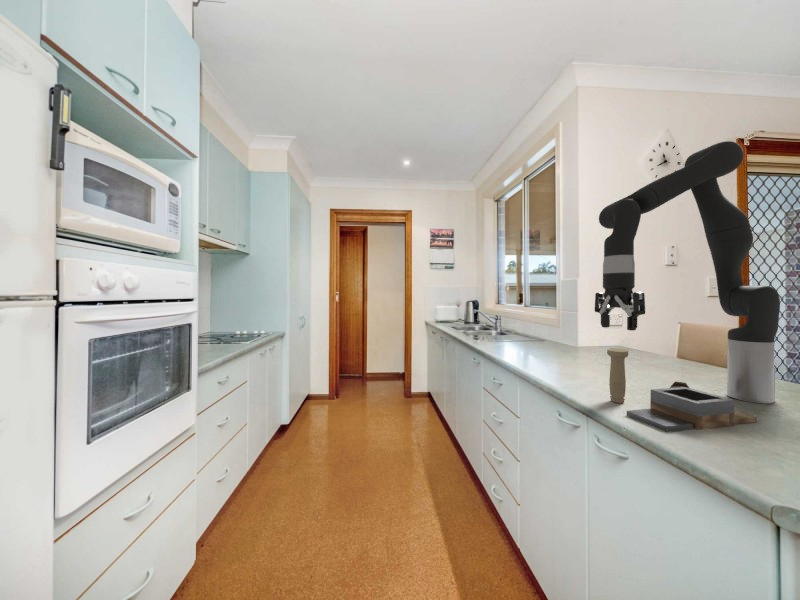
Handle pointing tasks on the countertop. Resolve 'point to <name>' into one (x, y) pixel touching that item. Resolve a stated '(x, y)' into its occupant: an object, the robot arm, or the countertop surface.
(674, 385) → the dark brown oblong lump
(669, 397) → the grey storage bin
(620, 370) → the handle
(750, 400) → the robot arm
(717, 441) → the countertop surface
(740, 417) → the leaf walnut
